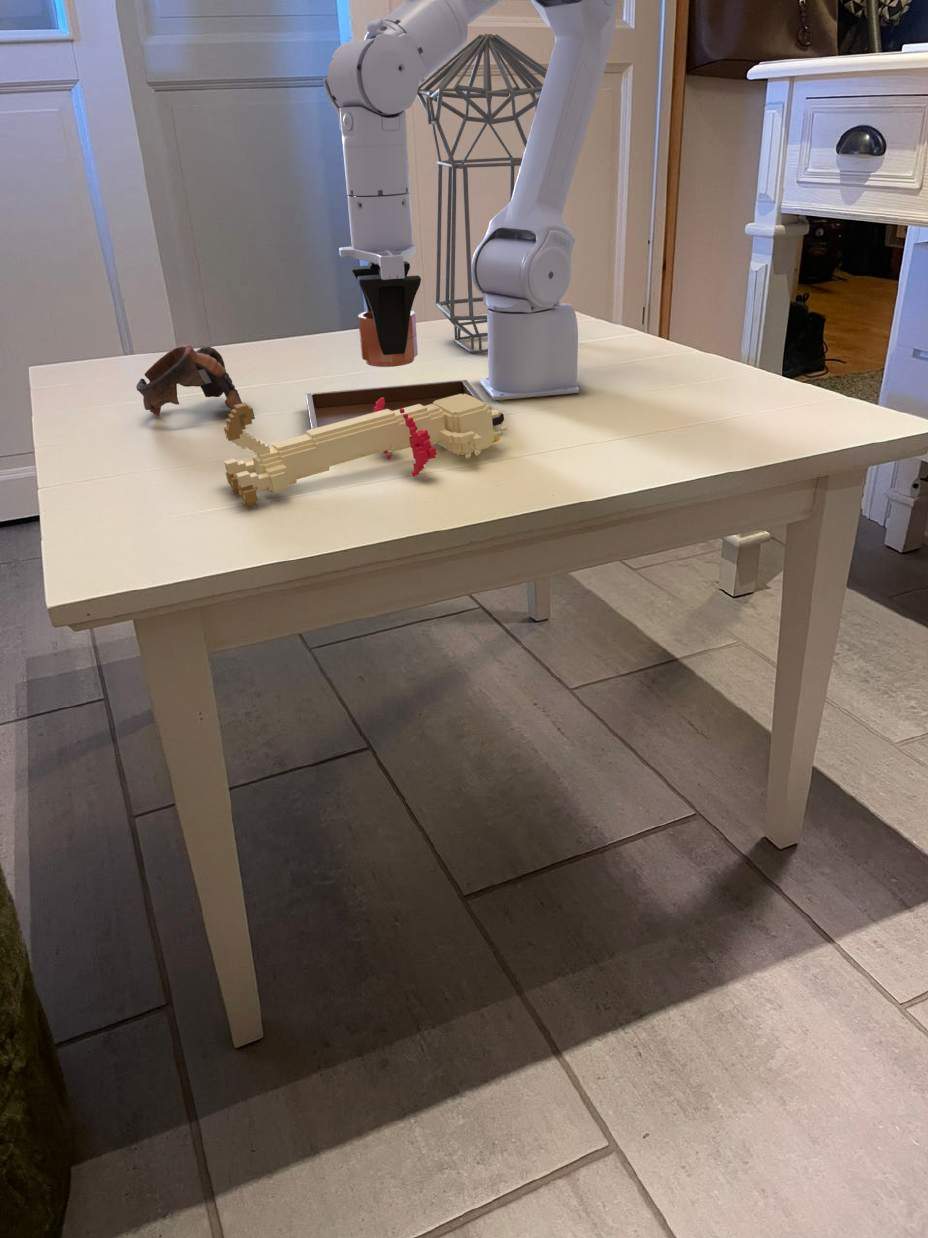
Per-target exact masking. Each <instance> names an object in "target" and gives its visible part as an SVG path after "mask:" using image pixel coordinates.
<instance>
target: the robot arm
mask: <svg viewBox="0 0 928 1238" xmlns="http://www.w3.org/2000/svg"><path fill="white" fill-rule="evenodd" d="M501 1H502V0H405V1H404V2H403V3H401V4H400V5H399V6H398V7H396V8H395V9H394V10H393V11H392V12H390V13H389V14H388V15H387V16H385V17H384V18H383V19H382V18H374V19H372V20H371V21H370V22H369V23H367V24H366V30H367V32H366V34H365V36H364V39H359V40H354V41H353V40H352V41H348V42H344V43H343V44H340V45H339V47H337V48H336V50H335V51H334V52H333V54H332V55H331V57H330V58H331V59H332V60H331V61H330V62H329V63H328V69H327V76H326V77H325V78H323V80H322V84H323V89H324V92H325V95H326V98H327V100H328V101H329V103H330V105H331V106H332V108H334V110H335V113H336V114H337V118H338V126H339V127H338V128H339V131H341V141H342V152H343V163H344V172H345V173H344V174H345V185H346V196H347V205H348V206H347V207H348V208H347V209H348V220H349V230H350V232H349V233H350V241H351V243H350V244H351V246H341V247H339V248H338V252H339V256H340V258H352V259H356V260H360V261H364V262H367V265H357V266H352V267H351V268H350V270H351V272H352V274H353V275H354V277H355V279H356V281H357V283H358V285H359V288H360V290H361V292H362V295H363V298H364V302H365V305H366V309H367V311H372V314H373V318H374V322H375V327H376V331H377V336H378V340H379V344H380V347H381V350H382V352H383V355H391V354H404V353H405V350H406V345H407V338H408V329H409V320H410V314H411V311H412V308H413V304H414V302H415V298H416V295H417V293H418V290H419V289H420V286H421V282H422V277H421V276H420V275H408V274H409V271H410V269H411V264H410V263H409V262H408V260H409V259H410V258H412V257H413V256H415V254H416V253H417V248H416V244H415V243H414V234H413V232H414V231H413V216H412V200H411V182H410V166H409V149H408V135H407V134H408V133H407V115H406V113H407V112H406V110H408V109H411V107H412V106H413V104H414V102H415V100H416V98H417V91H418V87H419V86H420V85H421V84H422V83H423V82H425V81H426V80H427V79H428V78H429V77H430V76H432V75H433V74H434V73H435V72H436V71H438V70H439V69H440V68H441V67H442V66H443V65H445V64H446V63H447V62H448V61H449V60H450V59H452V58H453V57H454V56H455V55H456V54H457V53H459V52H460V51H461V50H462V49H463V48H465V47H466V45H467V40H468V36H469V35H468V33H469V32H468V31H469V25H470V24H472V22H474V21H475V20H477V19H478V18H480V17H481V16H482V15H484V14H485V13H486V12H487V11H489V10H490V9H492V8H493V7H494V6H496V5H497V4H498V3H500V2H501ZM530 3H532V5H533V6H534V8H535V10H536V11H537V12H538V14H539V16H540V18H541V19H542V20H543V22H544V24H545V25H546V26H547V27H549V28H550V29H551V31H552V33H553V36H554V39H555V40H554V44H553V47H552V51H551V54H550V55H551V56H550V58H549V63H548V66H547V68H546V69H547V72H546V76H545V78H544V80H543V83H542V84H543V87H542V91H541V94H540V98H539V102H538V105H537V109H536V112H534V116H533V120H532V123H531V127H530V131H529V133H528V138H527V145H526V148H525V147H524V150H525V152H524V151H523V153H524V156H523V159H522V163H521V166H519V170H518V174H517V176H516V177H517V178H516V180H515V183H514V192H513V195H512V199H511V202H510V201H509V202H508V204H507V205H506V206H505V207H503V208H502V209H501V210H500V211H498V213H497V214H496V215H495V216H493V217H492V218H491V220H489V224H488V228H487V230H486V233H485V236H484V237H483V239H482V240H481V242H480V243H479V244H478V245H477V247H476V249H475V251H474V253H473V255H472V256H473V257H472V258H471V273H472V283H473V284H474V287H475V288H476V290H477V291H478V292H479V293H480V294H481V295H482V297H483V301H482V302H483V305H485V306H486V315H487V322H486V325H487V326H486V327H487V333H488V336H487V349H488V352H487V361H488V366H487V367H488V377H483V378H480V379H479V384H480V385H481V386H482V388H484V390H485V391H486V392H487V393H488V395H489V396H490V397H491V398H492V400H494V401H503V400H511V399H512V400H513V399H525V398H526V399H527V398H535V397H544V396H545V397H547V396H558V395H568V394H578V393H579V392H580V388H579V387H578V362H579V361H578V360H579V359H578V355H579V354H578V353H579V352H578V351H579V326H578V318H577V315H576V311H575V309H574V307H573V305H571V304H570V303H560V301H561V300H562V299H563V297H564V296H565V294H566V292H567V290H568V289H569V286H570V282H571V278H572V277H571V276H572V253H573V248H574V245H575V241H576V238H575V236H574V234H573V232H571V230H570V228H569V226H568V225H567V224H566V221H565V220H564V219H563V214H564V210H565V208H566V207H565V206H566V204H567V200H568V197H569V194H570V190H571V187H572V183H573V180H574V176H575V173H576V170H577V166H578V163H579V159H580V156H581V152H582V149H583V145H584V141H585V139H586V135H587V132H588V128H589V125H590V122H591V118H592V114H593V111H594V107H595V104H596V100H597V97H598V94H599V90H600V87H601V84H602V79H603V77H604V74H605V70H606V66H607V62H608V59H609V56H610V53H611V49H612V45H613V43H614V39H615V38H614V37H615V34H616V23H617V9H618V0H530Z"/></svg>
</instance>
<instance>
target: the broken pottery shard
mask: <svg viewBox="0 0 928 1238" xmlns="http://www.w3.org/2000/svg"><path fill="white" fill-rule="evenodd" d="M144 376H145V378H146V379H148V381H149V382H146V379H144V378H140V379H139V381H138V382H137V384H136V385H135V387H136V391H138V392H139V393H140V394H141V395H142V397H143V399H142V400H143V407H144V409H145V411H149V412H150V413H152V414H153V415H154V416H155V417H159V416H160V413H161V410H162V407H163V406H164V405H166V404H173V405H180V402H179V398H178V385H180V386H182V387H186V388H188V387H196V388H197V387H200V389H201V390H202V392H203V395H204V397H205V398H220V397H221V396H222V395H223V394H224V396H225V398H226V399H225V400H224V405H225V406H226V407H227V408H228V409H230V414H232V412H231V410H233V409H235V408H234V405H237V404H241V403H243V402H242V399H241V396H240V393H239V391H238V390H237V389H236V386H235V384H234V383H233V380H232V378H231V377H230V375H229V373H228V372H227V370H226V365H225V361H224V359H223V356H222V354H220V352H219V351H218V350H216V349H215V348H214V347H212V346H208V345H206V346H201V347H200V348H199V349H197V350H195V349H194V347H192V345H191V344H189V343H188V344H182V345H180V346H177V347H175V348H173V349H172V350H170V351H168V352H166V353H165V355H163V356H162V357H160V358H159V359H157V361H155V363H153V365H151V366H150V367H149V368H148V370H146V371H145V373H144Z"/></svg>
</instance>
